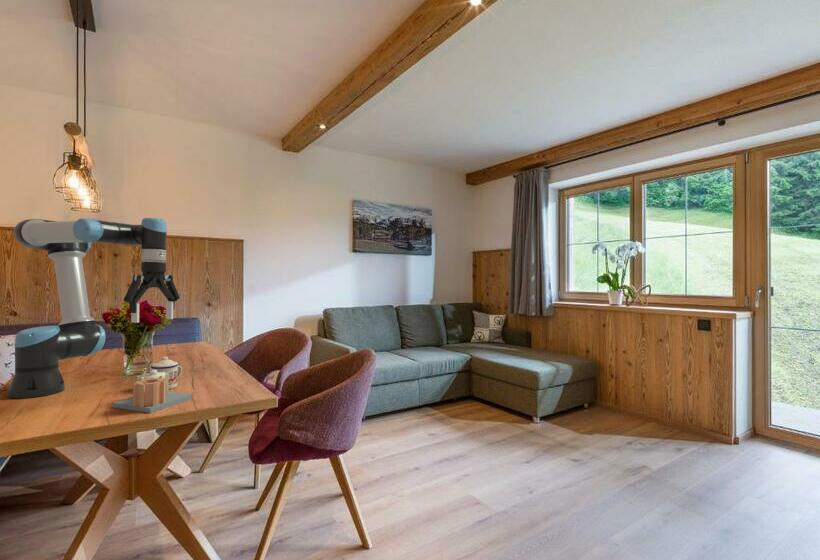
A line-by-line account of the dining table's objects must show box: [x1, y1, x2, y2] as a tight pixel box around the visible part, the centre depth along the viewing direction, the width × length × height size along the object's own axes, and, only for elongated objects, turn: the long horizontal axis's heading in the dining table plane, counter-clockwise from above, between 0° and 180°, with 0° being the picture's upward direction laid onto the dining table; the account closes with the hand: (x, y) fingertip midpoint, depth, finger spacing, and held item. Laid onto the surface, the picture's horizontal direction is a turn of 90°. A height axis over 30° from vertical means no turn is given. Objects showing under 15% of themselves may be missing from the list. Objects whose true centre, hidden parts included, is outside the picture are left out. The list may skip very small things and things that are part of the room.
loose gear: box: [132, 378, 166, 407], centre depth 131 cm, size 9×9×7 cm
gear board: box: [112, 369, 193, 414], centre depth 135 cm, size 16×16×10 cm
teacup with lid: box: [150, 356, 183, 390], centre depth 155 cm, size 12×9×12 cm
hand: (153, 320), depth 144 cm, fingers open, 13 cm apart
